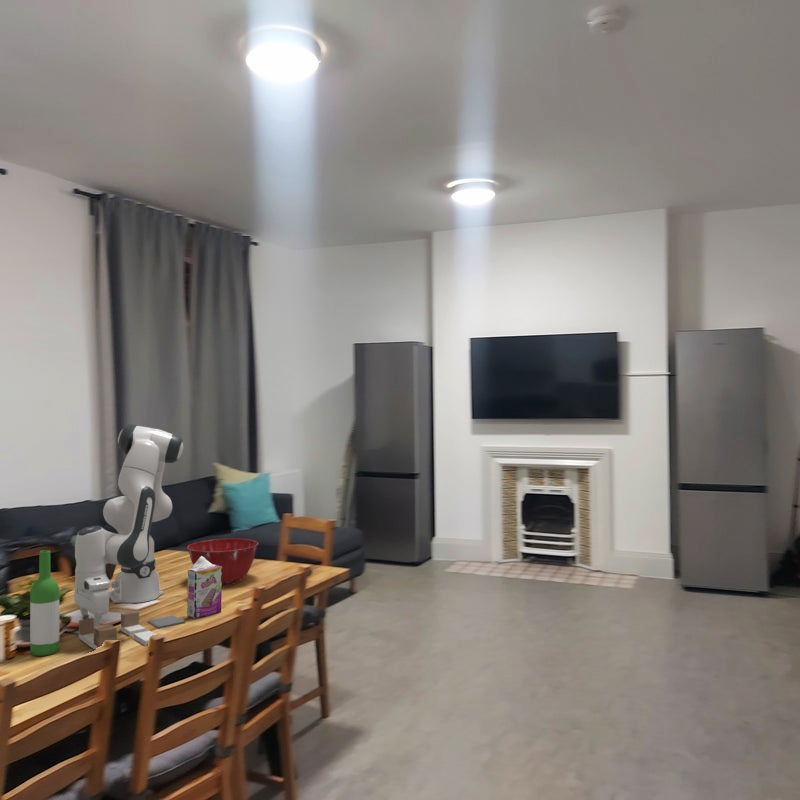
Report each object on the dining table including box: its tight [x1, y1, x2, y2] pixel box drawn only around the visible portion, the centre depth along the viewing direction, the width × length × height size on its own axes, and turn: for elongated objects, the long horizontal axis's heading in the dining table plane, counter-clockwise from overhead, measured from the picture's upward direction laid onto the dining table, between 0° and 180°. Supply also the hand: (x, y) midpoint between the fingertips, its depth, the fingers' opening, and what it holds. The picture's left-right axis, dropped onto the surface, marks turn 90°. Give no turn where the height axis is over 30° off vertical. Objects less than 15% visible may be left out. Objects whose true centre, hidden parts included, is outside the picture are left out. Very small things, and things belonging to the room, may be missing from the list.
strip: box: [78, 617, 98, 650], centre depth 222 cm, size 20×5×6 cm, turn 41°
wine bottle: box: [29, 549, 60, 657], centre depth 216 cm, size 8×8×30 cm
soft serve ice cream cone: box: [190, 556, 212, 569], centre depth 275 cm, size 8×8×16 cm
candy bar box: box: [186, 565, 223, 620], centre depth 254 cm, size 11×5×16 cm, turn 141°
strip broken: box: [120, 610, 157, 647], centre depth 231 cm, size 20×5×6 cm, turn 41°
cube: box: [94, 623, 118, 647], centre depth 218 cm, size 5×5×5 cm
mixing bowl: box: [186, 538, 259, 586], centre depth 300 cm, size 28×28×16 cm
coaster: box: [147, 615, 186, 629], centre depth 245 cm, size 9×9×1 cm
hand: (90, 623), depth 228 cm, fingers open, 8 cm apart
